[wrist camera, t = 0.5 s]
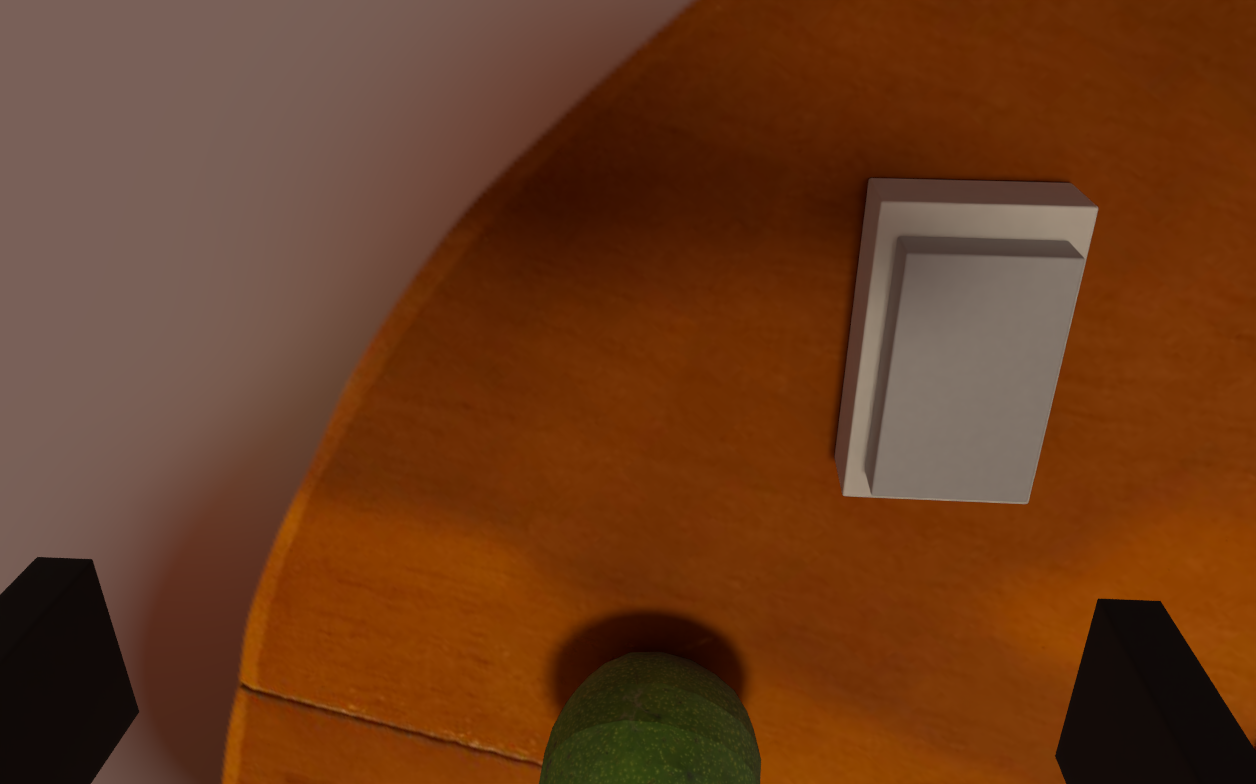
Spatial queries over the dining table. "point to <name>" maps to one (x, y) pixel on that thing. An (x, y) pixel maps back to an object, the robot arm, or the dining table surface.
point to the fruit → (652, 727)
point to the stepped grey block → (958, 336)
